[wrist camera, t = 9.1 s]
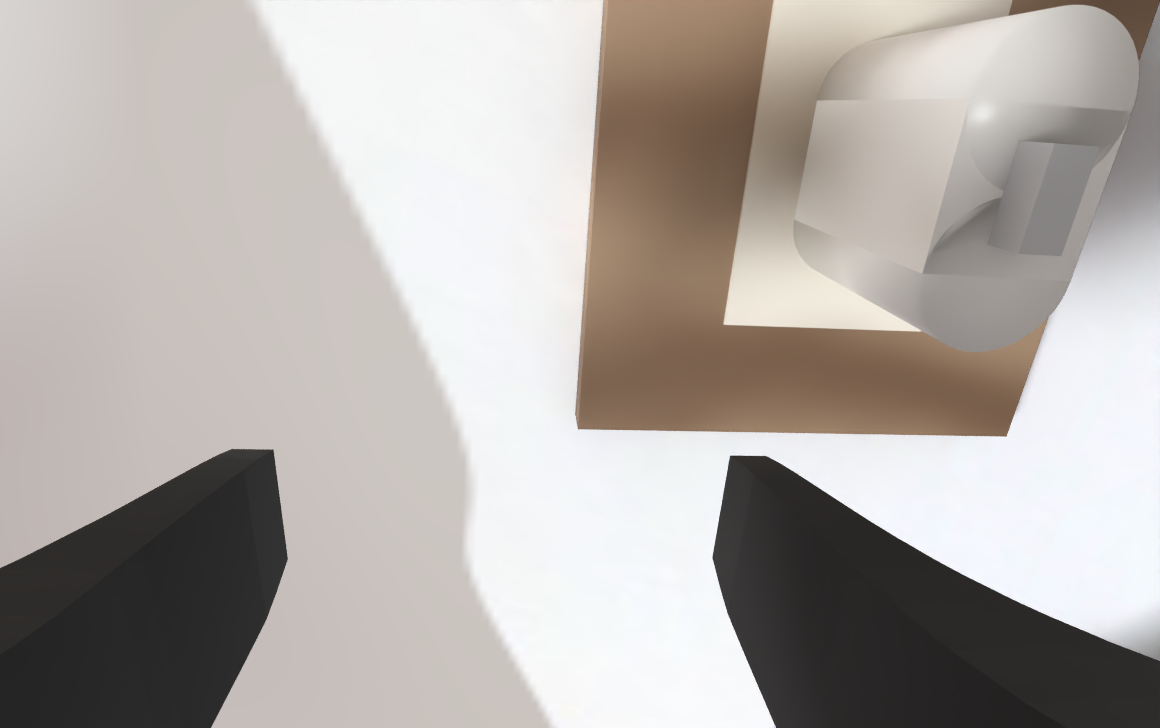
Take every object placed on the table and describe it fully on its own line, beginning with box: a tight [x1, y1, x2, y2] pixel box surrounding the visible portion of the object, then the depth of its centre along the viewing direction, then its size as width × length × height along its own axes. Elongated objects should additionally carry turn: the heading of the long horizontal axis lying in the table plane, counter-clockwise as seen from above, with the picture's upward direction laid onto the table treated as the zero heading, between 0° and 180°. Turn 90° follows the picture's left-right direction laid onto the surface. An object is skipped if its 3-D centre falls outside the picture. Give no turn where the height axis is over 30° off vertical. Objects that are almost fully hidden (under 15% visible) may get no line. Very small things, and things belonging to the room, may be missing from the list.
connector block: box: [793, 5, 1139, 352], centre depth 14 cm, size 6×3×7 cm, turn 176°
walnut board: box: [576, 0, 1160, 436], centre depth 17 cm, size 16×14×1 cm
